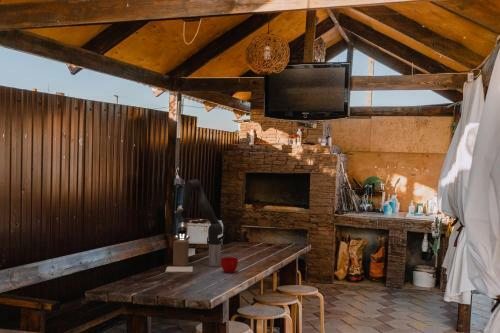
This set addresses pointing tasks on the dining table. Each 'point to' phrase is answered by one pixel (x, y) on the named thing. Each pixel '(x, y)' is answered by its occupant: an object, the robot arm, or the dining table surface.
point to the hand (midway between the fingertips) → (181, 245)
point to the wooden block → (180, 253)
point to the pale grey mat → (179, 269)
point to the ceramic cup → (229, 264)
